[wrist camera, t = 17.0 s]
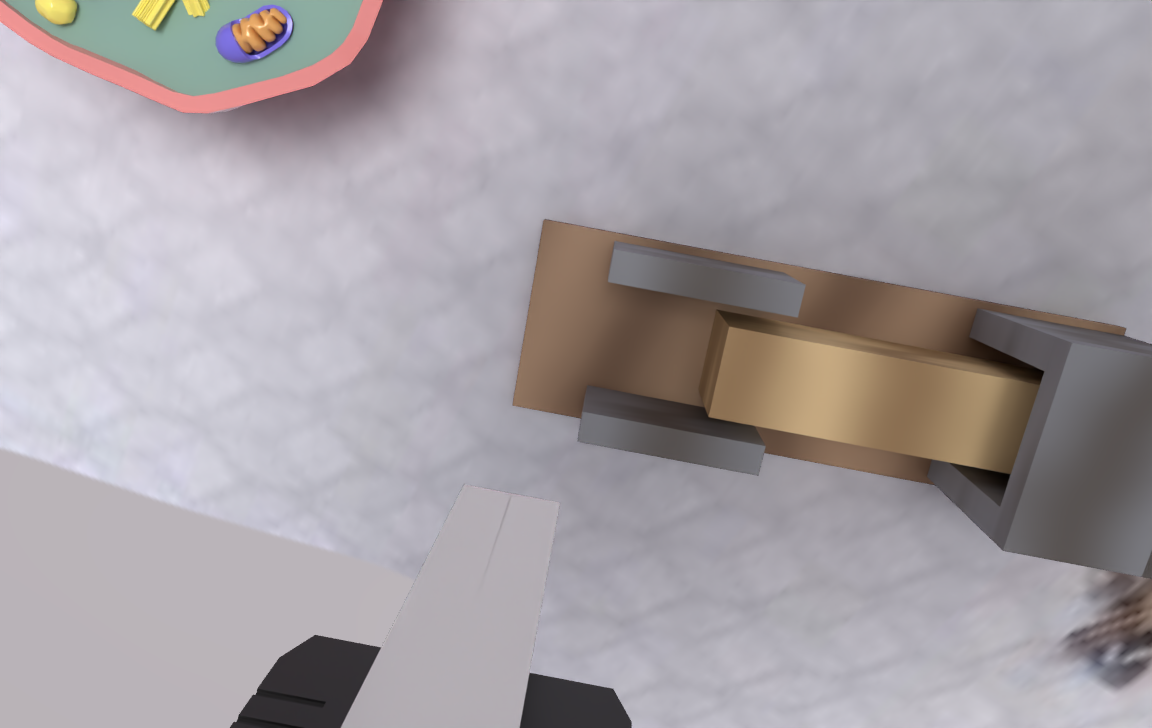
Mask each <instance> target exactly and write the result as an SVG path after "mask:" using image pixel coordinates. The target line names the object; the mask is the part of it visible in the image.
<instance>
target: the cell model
mask: <svg viewBox="0 0 1152 728" xmlns="http://www.w3.org/2000/svg"><path fill="white" fill-rule="evenodd" d="M382 1H383V0H0V22H1V23H3V24H4V25H6V26H7V27H8V28H10V29H11V30H12V31H14V32H15V33H17V34H18V35H19V36H21V37H22V38H24V39H25V40H26V41H28V42H29V43H31V44H32V45H34V46H36V47H37V48H39V49H41V50H43V51H44V52H46V53H48V54H49V55H51V56H53V57H55V58H57V59H60V60H62V61H64V62H66V63H68V64H70V65H73V66H75V67H77V68H79V69H81V70H84V71H86V72H88V73H90V74H92V75H95V76H97V77H100V78H102V79H105V80H107V81H109V82H112V83H114V84H117V85H119V86H122V87H124V88H126V89H129V90H131V91H133V92H135V93H138V94H140V95H142V96H144V97H147V98H149V99H151V100H154V101H156V102H159V103H161V104H163V105H166V106H168V107H171V108H173V109H175V110H178V111H180V112H183V113H218V112H227V111H231V110H235V109H237V108H239V107H241V106H243V105H246V104H250V103H253V102H257V101H260V100H264V99H268V98H271V97H275V96H278V95H282V94H286V93H289V92H293V91H296V90H300V89H304V88H307V87H311V86H314V85H316V84H317V83H319V82H321V81H323V80H324V79H326V78H328V77H329V76H331V75H333V74H334V73H336V72H338V71H339V70H341V69H343V68H344V67H346V66H348V65H349V64H351V62H352V61H353V60H354V58H355V57H356V55H357V54H358V53H359V51H360V50H361V49H362V47H363V46H364V44H365V43H366V42H367V40H368V38H369V35H370V33H371V30H372V28H373V25H374V22H375V20H376V17H377V15H378V12H379V10H380V7H381V5H382Z"/></svg>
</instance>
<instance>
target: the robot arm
mask: <svg viewBox="0 0 1152 728" xmlns="http://www.w3.org/2000/svg"><path fill="white" fill-rule="evenodd" d="M559 507H560V502H555V501H550V500H544V499H539V498H534V497H529V496H523V495H518V494H513V493H507V492H502V491H497V490H492V489H486V488H481V487H476V486H471V485H465V484H464V485H463V487H462V489H461V491H460V493H459V495H458V497H457V499H456V501H455V503H454V505H453V507H452V509H451V511H450V513H449V515H448V517H447V519H446V521H445V523H444V525H443V527H442V529H441V531H440V533H439V535H438V537H437V539H436V540H435V542H434V544H433V546H432V548H431V550H430V552H429V554H428V556H427V558H426V560H425V562H424V564H423V566H422V568H421V570H420V572H419V574H418V576H417V578H416V580H415V582H414V584H413V586H412V588H411V590H410V592H409V594H408V596H407V598H406V600H405V602H404V604H403V606H402V608H401V610H400V612H399V614H398V616H397V618H396V620H395V621H394V623H393V625H392V627H391V629H390V631H389V633H388V635H387V637H386V640H385V641H384V643H383V645H382V647H381V648H380V647H375V646H370V645H365V644H360V643H354V642H349V641H344V640H339V639H333V638H328V637H323V636H318V635H314V636H313V637H311V638H310V639H308V640H306V641H305V642H303V643H302V644H300V645H299V646H297V647H295V648H294V649H292V650H291V651H289V652H288V653H286V654H284V655H283V656H281V657H280V658H279V659H278V660H277V662H276V663H275V665H274V666H273V667H272V669H271V670H270V672H269V673H268V675H267V676H266V677H265V679H264V680H263V681H262V683H261V684H260V686H259V687H258V689H257V693H256V695H253V696H252V697H251V698H250V700H249V701H248V703H247V704H246V705H245V707H244V708H243V710H242V711H241V713H240V714H239V717H238V720H237V722H233V724H232V725H231V727H230V728H632V727H631V720H630V718H629V717H628V715H627V713H626V711H625V709H624V708H623V706H622V704H621V702H620V700H619V699H618V697H617V695H616V693H615V691H614V690H613V689H611V688H606V687H600V686H595V685H590V684H585V683H580V682H574V681H569V680H564V679H559V678H554V677H548V676H543V675H538V674H533V673H529V672H530V667H531V661H532V656H533V650H534V645H535V639H536V634H537V628H538V623H539V617H540V612H541V606H542V601H543V595H544V590H545V584H546V579H547V573H548V568H549V562H550V557H551V551H552V546H553V540H554V535H555V529H556V524H557V518H558V513H559Z"/></svg>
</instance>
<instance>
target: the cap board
mask: <svg viewBox="0 0 1152 728" xmlns="http://www.w3.org/2000/svg"><path fill="white" fill-rule="evenodd" d="M716 309H717V310H723V311H728V312H733V313H739V314H744V315H749V316H755V317H760V318H765V319H771V320H776V321H781V322H787V323H792V324H797V325H803V326H808V327H813V328H819V329H824V330H829V331H835V332H840V333H845V334H851V335H856V336H861V337H867V338H872V339H878V340H883V341H888V342H894V343H899V344H904V345H910V346H915V347H920V348H926V349H931V350H936V351H942V352H947V353H952V354H958V355H963V356H968V357H974V358H979V359H984V360H990V361H995V362H1000V363H1006V364H1011V365H1016V366H1022V367H1027V368H1032V369H1038V370H1043V371H1044V374H1043V377H1042V380H1041V384H1040V387H1039V390H1038V393H1037V396H1036V399H1035V402H1034V405H1033V408H1032V411H1031V414H1030V417H1029V420H1028V423H1027V426H1026V429H1025V432H1024V435H1023V438H1022V442H1021V445H1020V448H1019V451H1018V454H1017V457H1016V460H1015V463H1014V466H1013V469H1012V472H1011V474H1008V473H1002V472H997V471H992V470H986V469H981V468H976V467H970V466H965V465H960V464H955V463H949V462H944V461H939V460H933V459H928V458H923V457H917V456H912V455H907V454H902V453H896V452H891V451H886V450H880V449H875V448H870V447H864V446H859V445H854V444H848V443H843V442H838V441H833V440H827V439H822V438H817V437H811V436H806V435H801V434H795V433H790V432H785V431H780V430H774V429H769V428H764V427H758V426H753V425H748V424H742V423H737V422H732V421H727V420H721V419H716V418H711V417H708V414H707V412H706V409H705V406H704V404H703V401H702V398H701V396H700V393H699V390H698V389H699V385H700V380H701V376H702V371H703V367H704V362H705V358H706V353H707V349H708V344H709V340H710V335H711V331H712V327H713V322H714V318H715V313H716ZM1125 331H1126V328H1123V327H1120V326H1116V325H1110V324H1105V323H1100V322H1094V321H1089V320H1084V319H1078V318H1073V317H1067V316H1062V315H1057V314H1051V313H1046V312H1041V311H1035V310H1030V309H1024V308H1019V307H1014V306H1008V305H1003V304H998V303H992V302H987V301H981V300H976V299H971V298H965V297H960V296H955V295H949V294H944V293H938V292H933V291H928V290H922V289H917V288H912V287H906V286H901V285H895V284H890V283H885V282H879V281H874V280H869V279H863V278H858V277H852V276H847V275H842V274H836V273H831V272H826V271H820V270H815V269H809V268H804V267H799V266H793V265H788V264H783V263H777V262H772V261H766V260H761V259H756V258H750V257H745V256H740V255H734V254H729V253H723V252H718V251H713V250H707V249H702V248H697V247H691V246H686V245H680V244H675V243H670V242H664V241H659V240H654V239H648V238H643V237H637V236H632V235H627V234H621V233H616V232H611V231H605V230H600V229H594V228H589V227H584V226H578V225H573V224H568V223H562V222H557V221H551V220H546V219H545V220H544V221H543V227H542V233H541V239H540V245H539V251H538V256H537V262H536V268H535V274H534V280H533V286H532V292H531V298H530V304H529V310H528V316H527V322H526V328H525V334H524V340H523V346H522V352H521V358H520V363H519V369H518V375H517V381H516V387H515V393H514V399H513V406H518V407H524V408H529V409H534V410H539V411H545V412H550V413H555V414H561V415H566V416H571V417H577V418H581V422H580V428H579V435H578V441H577V442H583V443H588V444H593V445H599V446H604V447H609V448H614V449H620V450H625V451H630V452H636V453H641V454H646V455H651V456H657V457H662V458H667V459H673V460H678V461H683V462H689V463H694V464H699V465H704V466H710V467H715V468H720V469H726V470H731V471H736V472H741V473H747V474H752V475H757V476H758V475H759V471H760V467H761V463H762V459H763V455H764V453H768V454H773V455H778V456H783V457H789V458H794V459H799V460H805V461H810V462H815V463H821V464H826V465H831V466H837V467H842V468H847V469H852V470H858V471H863V472H868V473H874V474H879V475H884V476H890V477H895V478H900V479H905V480H911V481H916V482H921V483H927V484H932V485H936V486H937V487H938V488H939V489H940V490H941V491H942V492H943V493H944V494H945V495H946V496H947V497H948V498H949V499H950V500H951V501H952V502H953V503H954V504H956V505H957V506H958V507H959V508H960V509H961V510H962V511H963V512H964V513H965V514H966V515H967V516H968V517H969V518H970V519H971V520H972V521H973V522H974V523H975V524H976V525H977V526H978V527H979V528H980V529H981V530H982V531H983V532H984V533H985V534H986V535H987V536H988V537H989V538H990V539H992V540H993V541H994V542H995V543H996V544H997V545H998V546H999V547H1000V548H1001V549H1002V550H1003V551H1007V552H1013V553H1018V554H1023V555H1028V556H1034V557H1039V558H1044V559H1050V560H1055V561H1060V562H1065V563H1071V564H1076V565H1081V566H1087V567H1092V568H1097V569H1102V570H1108V571H1113V572H1118V573H1124V574H1129V575H1134V576H1139V577H1145V578H1150V579H1152V344H1149V343H1146V342H1143V341H1139V340H1136V339H1133V338H1130V337H1127V336H1124V334H1125Z"/></svg>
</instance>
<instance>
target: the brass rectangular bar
mask: <svg viewBox="0 0 1152 728" xmlns="http://www.w3.org/2000/svg"><path fill="white" fill-rule="evenodd" d="M1043 374H1044V371H1043V370H1038V369H1032V368H1027V367H1022V366H1016V365H1011V364H1006V363H1000V362H995V361H990V360H984V359H979V358H974V357H968V356H963V355H958V354H952V353H947V352H942V351H936V350H931V349H926V348H920V347H915V346H910V345H904V344H899V343H894V342H888V341H883V340H878V339H872V338H867V337H861V336H856V335H851V334H845V333H840V332H835V331H829V330H824V329H819V328H813V327H808V326H803V325H797V324H792V323H787V322H781V321H776V320H771V319H765V318H760V317H755V316H749V315H744V314H739V313H733V312H728V311H723V310H717V309H716V313H715V318H714V322H713V327H712V331H711V335H710V340H709V344H708V349H707V353H706V358H705V362H704V367H703V371H702V376H701V380H700V385H699V389H698V390H699V393H700V396H701V398H702V401H703V404H704V406H705V409H706V412H707V414H708V417H711V418H716V419H721V420H727V421H732V422H737V423H742V424H748V425H753V426H758V427H764V428H769V429H774V430H780V431H785V432H790V433H795V434H801V435H806V436H811V437H817V438H822V439H827V440H833V441H838V442H843V443H848V444H854V445H859V446H864V447H870V448H875V449H880V450H886V451H891V452H896V453H902V454H907V455H912V456H917V457H923V458H928V459H933V460H939V461H944V462H949V463H955V464H960V465H965V466H970V467H976V468H981V469H986V470H992V471H997V472H1002V473H1008V474H1011V472H1012V469H1013V466H1014V463H1015V460H1016V457H1017V454H1018V451H1019V448H1020V445H1021V442H1022V438H1023V435H1024V432H1025V429H1026V426H1027V423H1028V420H1029V417H1030V414H1031V411H1032V408H1033V405H1034V402H1035V399H1036V396H1037V393H1038V390H1039V387H1040V384H1041V380H1042V377H1043Z"/></svg>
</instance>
